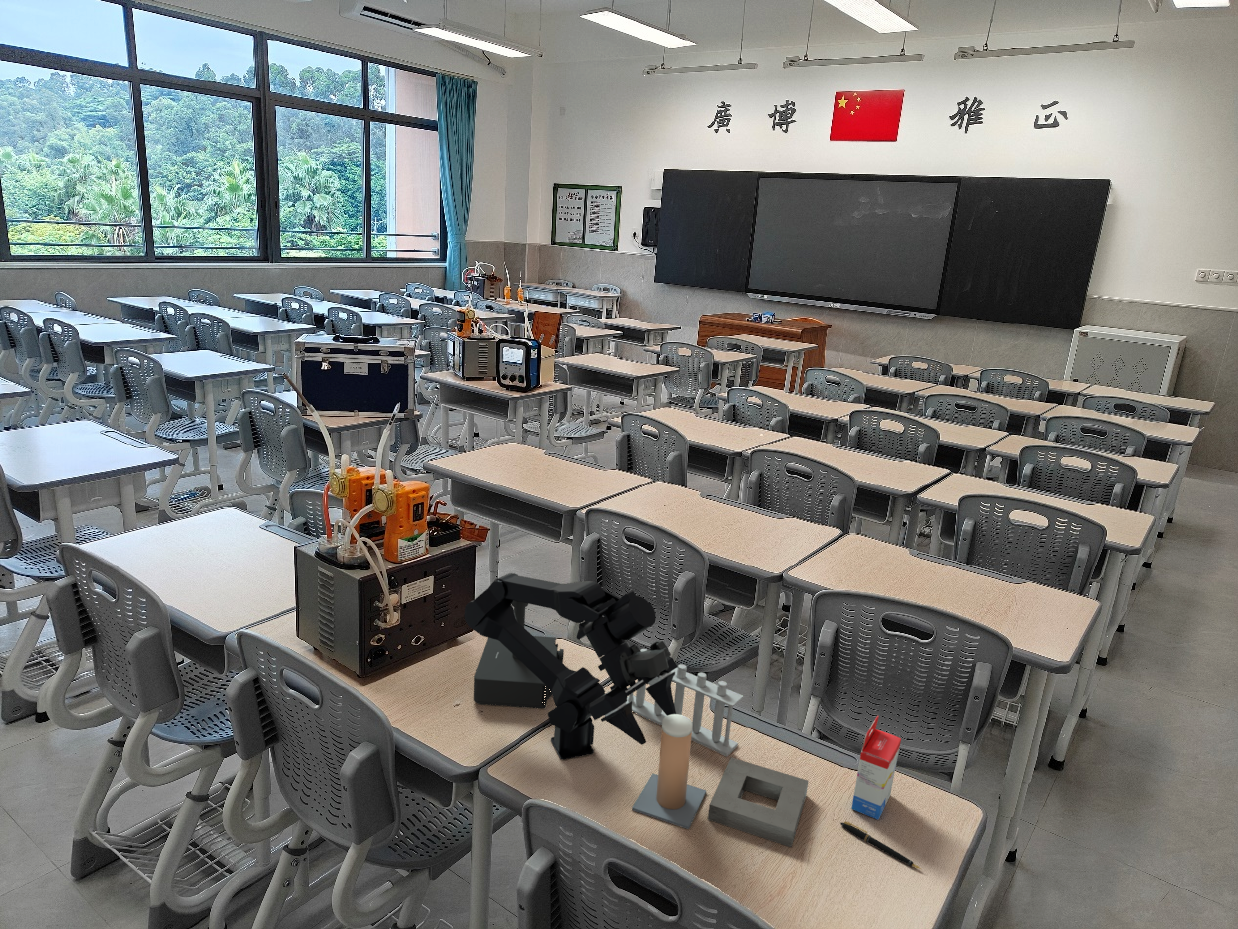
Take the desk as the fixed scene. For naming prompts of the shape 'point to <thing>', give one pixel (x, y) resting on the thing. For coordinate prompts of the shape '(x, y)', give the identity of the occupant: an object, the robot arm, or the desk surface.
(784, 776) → the bore housing
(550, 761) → the desk surface
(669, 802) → the tan peg
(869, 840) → the fountain pen
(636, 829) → the desk surface
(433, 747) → the desk surface
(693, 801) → the slate mat
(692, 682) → the test tube rack
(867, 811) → the ink box
